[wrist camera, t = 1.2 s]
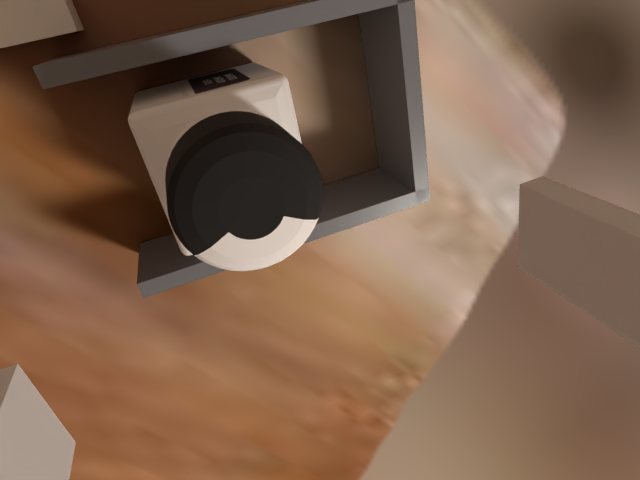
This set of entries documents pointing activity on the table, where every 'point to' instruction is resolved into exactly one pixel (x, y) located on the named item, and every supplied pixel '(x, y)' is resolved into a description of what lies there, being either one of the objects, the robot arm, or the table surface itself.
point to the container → (229, 165)
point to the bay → (385, 96)
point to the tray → (36, 20)
